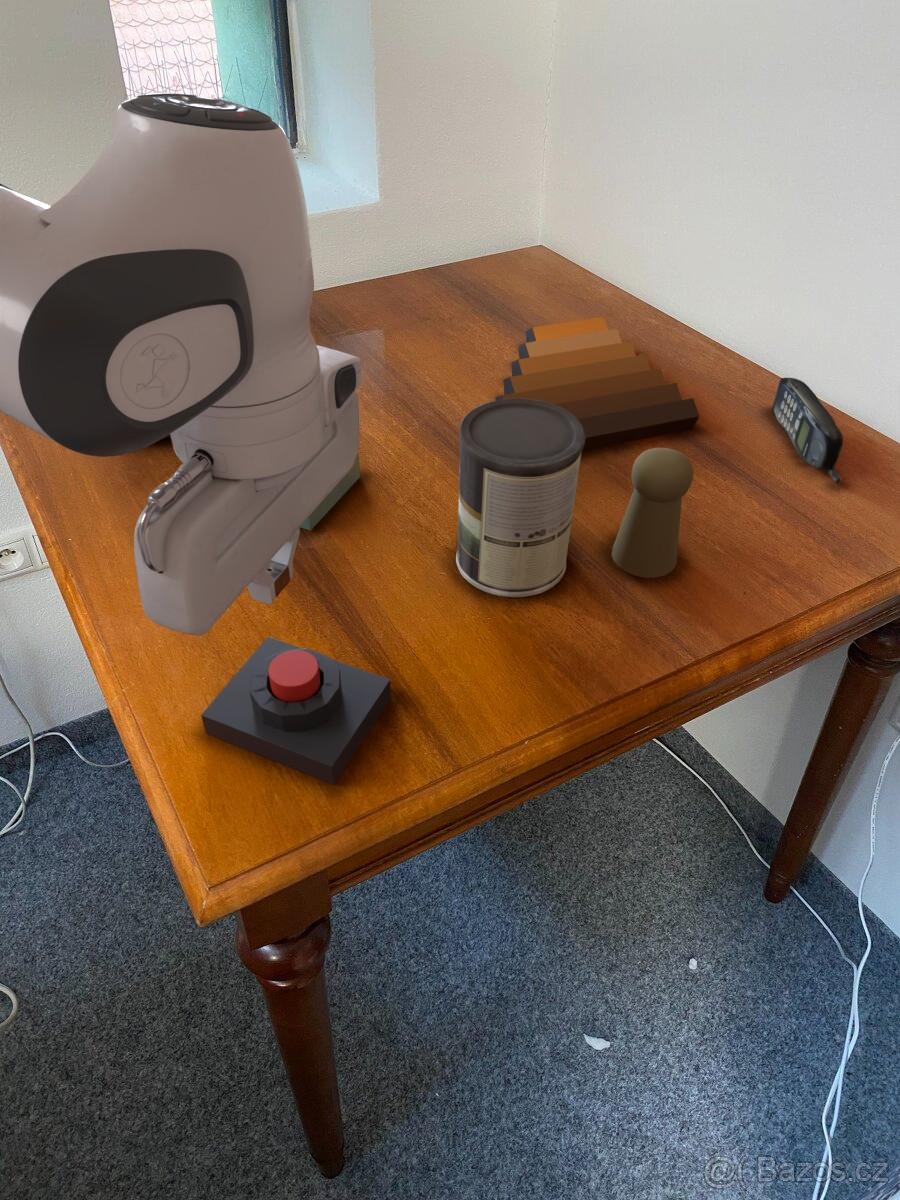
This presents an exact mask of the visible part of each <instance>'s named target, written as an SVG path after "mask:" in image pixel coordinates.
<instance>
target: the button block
mask: <svg viewBox="0 0 900 1200" xmlns="http://www.w3.org/2000/svg"><path fill="white" fill-rule="evenodd" d="M289 651H304V652H307V653H309V654H311V655H312V656H313V657H314V658H315V659H316V660H317V662H318V666H319V674H320V687H319V689H318V691H317V692H316V693H315V694H314V695H313V696H312V697H311V698H309V699H307V700H304V701H301V702H285V701H282V700H280V699H278V698H277V697H276V696H275V695H274V694H273V692H272V689H271V684H270V679H269V673H268V670H269V666H270V664H271V662H272V661H273V660H274V659H275V658H276V657H277V656H279V655H280V654H282V653H285V652H289ZM391 682H392V681H391V679H390V678H387V677H385V676H381V675H378V674H376V673H373V672H370V671H368V670H364V669H362V668H359V667H356V666H353V665H350V664H347V663H345V662H341V661H339V660H336V659H333V658H331V657H329V656H328V655H327V654H324V653H321V652H319V651H316V650H312V649H309V648H302V647H300V646H296V645H293V644H291V643H288V642H285V641H282V640H279V639H276V638H274V637H271V636H267V637H266V638H265V639H264V640H263V642H262V643H261V644H260V645H259V647H258V648H257V649H256V650H255V651H254V652H253V653H252V655H251V656H250V657H249V658H248V659H247V660H246V662H244V664H243V665H242V666H241V667H240V668H239V670H237V672H236V673H235V675H234V676H233V677H232V678H231V679H230V680H229V681H228V683H227V684H226V685H225V686H224V688H222V690H221V691H220V692H219V693H218V695H217V696H216V697H215V698H214V699H213V700H212V702H210V704H209V705H208V706H207V707H206V708H205V710H204V711H203V712H202V713H201V715H200V717H201V721H202V725H203V728H204V732H205V734H206V735H208V736H210V737H213V738H215V739H218V740H220V741H223V742H225V743H228V744H230V745H232V746H235V747H238V748H240V749H242V750H245V751H248V752H250V753H252V754H255V755H257V756H260V757H262V758H265V759H268V760H271V761H273V762H276V763H278V764H280V765H283V766H285V767H287V768H290V769H293V770H296V771H297V772H300V773H302V774H305V775H308V776H309V777H312V778H315V779H318V780H320V781H323V782H325V783H327V784H331V785H333V786H335V785H336V783H337V782H338V780H339V779H340V777H341V775H342V774H343V772H344V771H345V769H346V767H348V765H349V764H350V762H351V760H352V759H353V757H354V756H355V755H356V753H357V752H358V751H359V748H360V747H361V745H362V744H363V742H364V740H365V739H366V737H367V736H368V735H369V733H370V732H371V730H372V728H373V727H374V726H375V724H376V722H377V721H378V719H379V718H380V717H381V714H383V712H384V710H385V709H386V707H387V706H388V704H389V703H390V701H391V699H392V685H391Z"/></svg>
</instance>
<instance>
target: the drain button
mask: <svg viewBox="0 0 900 1200" xmlns="http://www.w3.org/2000/svg"><path fill="white" fill-rule="evenodd" d="M268 673H269V679H270V684H271V689H272V692H273V694H274V695H275V696H276V697H277V698H278V699H280V700H282V701H285V702H301V701H304V700H307V699H309V698H311V697H312V696H313V695H314V694H315V693H316V692H317V691H318V689H319V687H320V674H319V666H318V662H317V660H316V659H315V658H314V657H313V656H312V655H311V654H309V653H307V652H304V651H289V652H285V653H282V654H280V655H279V656H277V657H276V658H275V659H274V660H273V661H272V662H271V664H270V666H269V670H268Z"/></svg>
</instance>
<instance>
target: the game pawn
mask: <svg viewBox="0 0 900 1200" xmlns="http://www.w3.org/2000/svg"><path fill="white" fill-rule="evenodd" d="M630 477H631V482H632V485H633V488H634V489H633V492H632V494H631V497H630V500H629V502H628V505H627V508H626V511H625V513H624V516H623V518H622V522H621V524H620V527H619V529H618V532H617V534H616V537H615V541H614V542H613V546H612V548H611V549H612V550H611V553H610V554H611V558H612V560H613V562H614V563H615V565H616V566H617V567H618V568H619V569H621V570H622V571H624V572H625V573H628V574H630V575H632V576H634V577H640V578H643V579H647V578H649V579H651V578H653V579H655V578H660V577H663V576H667V575H668V574H670V573H672V572H673V570H674V569H675V567H676V566H677V560H678V549H679V537H680V527H681V526H680V525H681V513H682V503H683V502H682V501H683V497H684V496H685V495H686V494H687V493H688V491H690V488H691V486H692V483H693V480H694V468H693V465H692V463H691V460H690V459H689V458H688V457H687V455H685V454H684V453H682V452H680V451H678V450H675V449H672V448H668V447H654V448H648V449H647V450H644V451H643V452H641V453H640V454H639V455H638V456H637V457H636V458H635V460H634V462H633V465H632V469H631V475H630Z"/></svg>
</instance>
